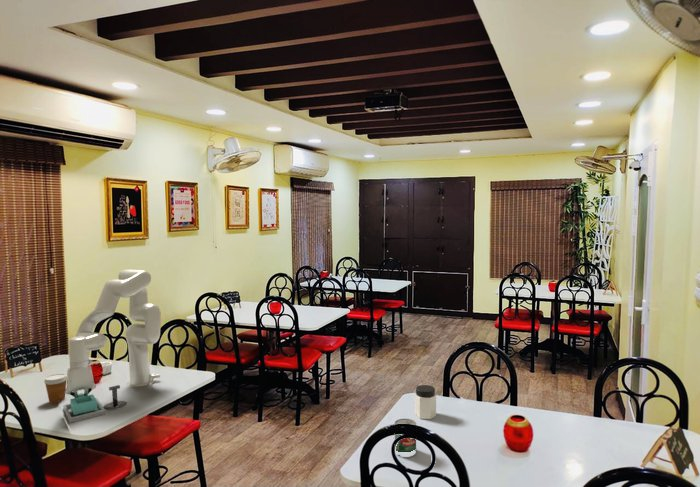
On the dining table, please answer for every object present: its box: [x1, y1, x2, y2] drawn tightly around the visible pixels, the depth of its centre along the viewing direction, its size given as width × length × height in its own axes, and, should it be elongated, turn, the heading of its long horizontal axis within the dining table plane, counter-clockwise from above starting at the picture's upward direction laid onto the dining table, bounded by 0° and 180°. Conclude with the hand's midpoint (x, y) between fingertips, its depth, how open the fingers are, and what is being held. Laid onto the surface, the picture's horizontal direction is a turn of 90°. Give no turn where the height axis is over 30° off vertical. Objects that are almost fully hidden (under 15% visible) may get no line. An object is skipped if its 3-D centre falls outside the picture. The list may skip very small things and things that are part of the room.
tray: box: [63, 397, 106, 424], centre depth 218 cm, size 14×18×3 cm
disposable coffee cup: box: [43, 373, 67, 405], centre depth 233 cm, size 10×10×12 cm
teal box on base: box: [69, 392, 98, 416], centre depth 219 cm, size 9×14×4 cm, turn 37°
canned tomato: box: [394, 418, 417, 452], centre depth 181 cm, size 8×8×11 cm
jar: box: [414, 384, 437, 420], centre depth 211 cm, size 9×8×12 cm
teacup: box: [100, 361, 113, 376], centre depth 271 cm, size 10×8×5 cm
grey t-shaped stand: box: [103, 384, 128, 411], centre depth 225 cm, size 10×10×10 cm
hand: (81, 404), depth 222 cm, fingers closed on teal box on base, 2 cm apart
